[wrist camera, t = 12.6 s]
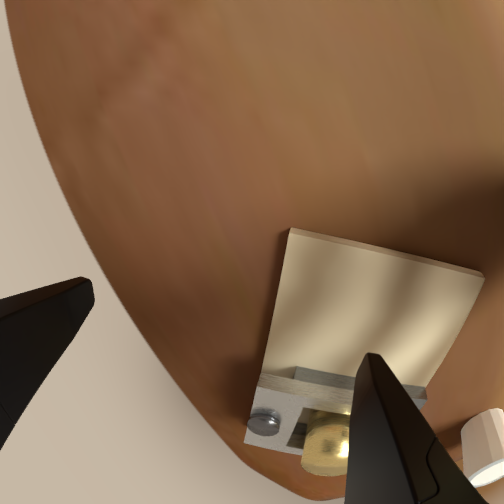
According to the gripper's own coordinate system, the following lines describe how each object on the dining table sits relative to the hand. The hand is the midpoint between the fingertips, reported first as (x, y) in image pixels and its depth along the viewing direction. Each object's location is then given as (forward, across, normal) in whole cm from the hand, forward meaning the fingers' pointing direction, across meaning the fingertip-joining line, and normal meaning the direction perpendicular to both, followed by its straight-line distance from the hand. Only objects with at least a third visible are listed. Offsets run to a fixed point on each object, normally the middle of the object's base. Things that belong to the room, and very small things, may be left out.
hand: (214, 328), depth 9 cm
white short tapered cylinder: (+12, -27, +18) cm, 35 cm away
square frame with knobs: (+12, -8, +16) cm, 22 cm away
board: (+12, -8, +12) cm, 19 cm away
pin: (+11, -8, +16) cm, 21 cm away
